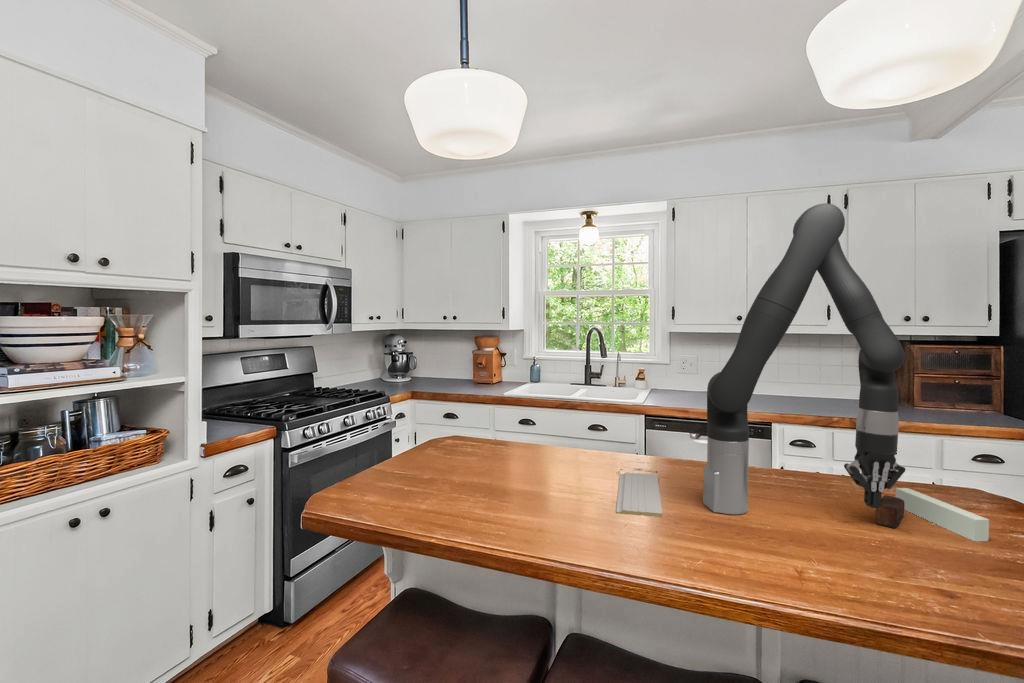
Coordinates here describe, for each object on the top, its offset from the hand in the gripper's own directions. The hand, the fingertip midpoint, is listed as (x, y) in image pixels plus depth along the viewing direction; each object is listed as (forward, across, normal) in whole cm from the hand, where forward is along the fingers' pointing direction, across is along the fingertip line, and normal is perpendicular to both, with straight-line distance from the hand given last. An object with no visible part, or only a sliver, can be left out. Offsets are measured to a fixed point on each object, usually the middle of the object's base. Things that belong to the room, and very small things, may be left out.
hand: (872, 506), depth 111 cm
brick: (+4, +6, +2) cm, 8 cm away
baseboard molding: (+6, -46, +23) cm, 52 cm away
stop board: (+4, +16, +1) cm, 17 cm away
